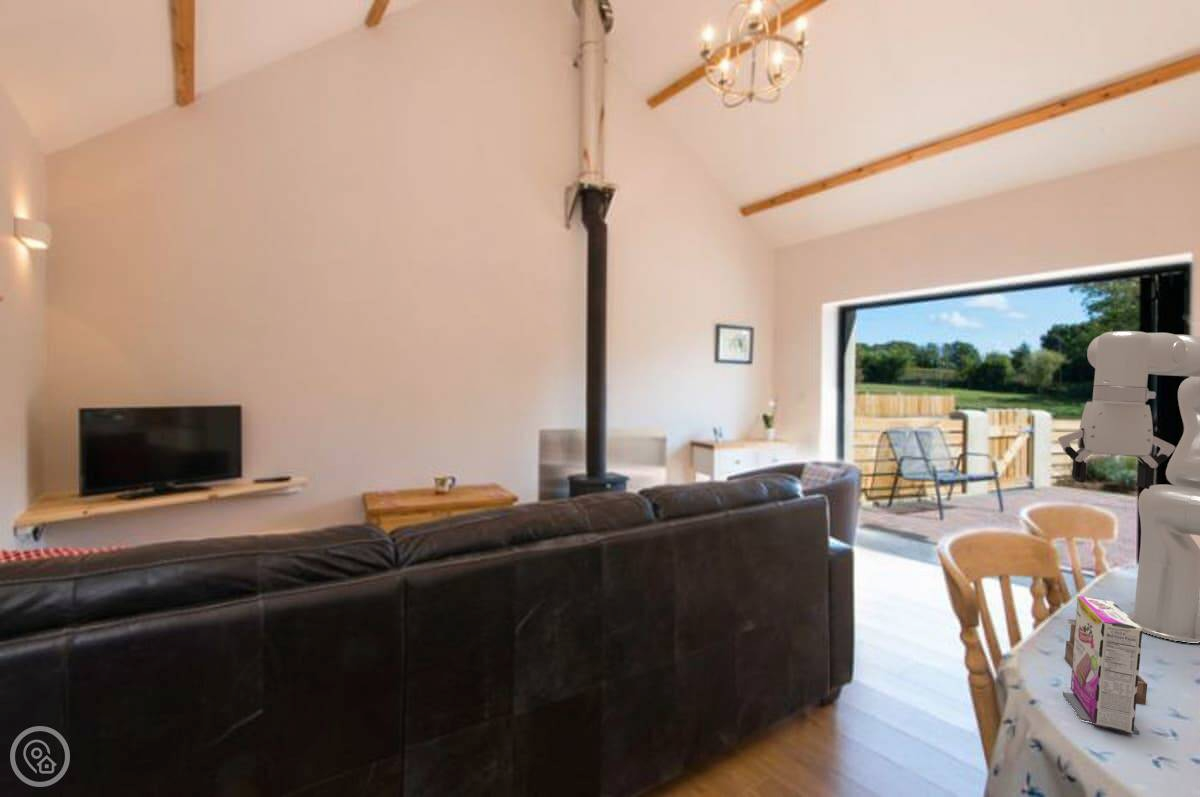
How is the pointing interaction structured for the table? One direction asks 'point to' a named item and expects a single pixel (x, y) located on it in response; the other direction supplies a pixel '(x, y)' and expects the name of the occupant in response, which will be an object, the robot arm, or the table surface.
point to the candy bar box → (1106, 663)
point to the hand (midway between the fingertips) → (1110, 484)
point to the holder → (1069, 658)
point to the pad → (1081, 711)
